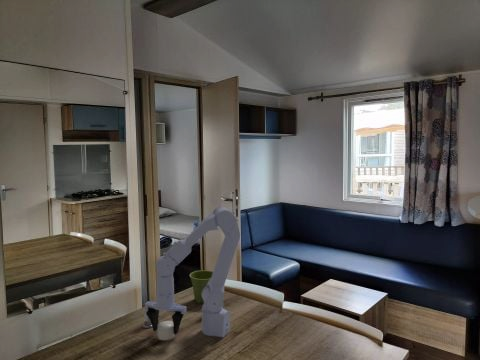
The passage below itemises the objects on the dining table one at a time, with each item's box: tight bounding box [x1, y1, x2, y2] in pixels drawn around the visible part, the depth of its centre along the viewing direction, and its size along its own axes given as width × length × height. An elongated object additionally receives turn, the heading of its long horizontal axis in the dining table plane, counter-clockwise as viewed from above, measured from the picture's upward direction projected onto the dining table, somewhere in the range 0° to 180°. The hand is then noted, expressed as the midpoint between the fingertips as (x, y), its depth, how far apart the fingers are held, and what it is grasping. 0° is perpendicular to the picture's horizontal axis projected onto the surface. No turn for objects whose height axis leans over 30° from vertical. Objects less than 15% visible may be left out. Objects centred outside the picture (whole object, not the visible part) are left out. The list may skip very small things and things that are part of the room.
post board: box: [126, 310, 192, 345], centre depth 129 cm, size 20×10×6 cm, turn 69°
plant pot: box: [189, 270, 214, 304], centre depth 159 cm, size 12×12×11 cm
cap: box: [157, 320, 175, 341], centre depth 126 cm, size 6×6×4 cm
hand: (165, 331), depth 126 cm, fingers open, 7 cm apart
